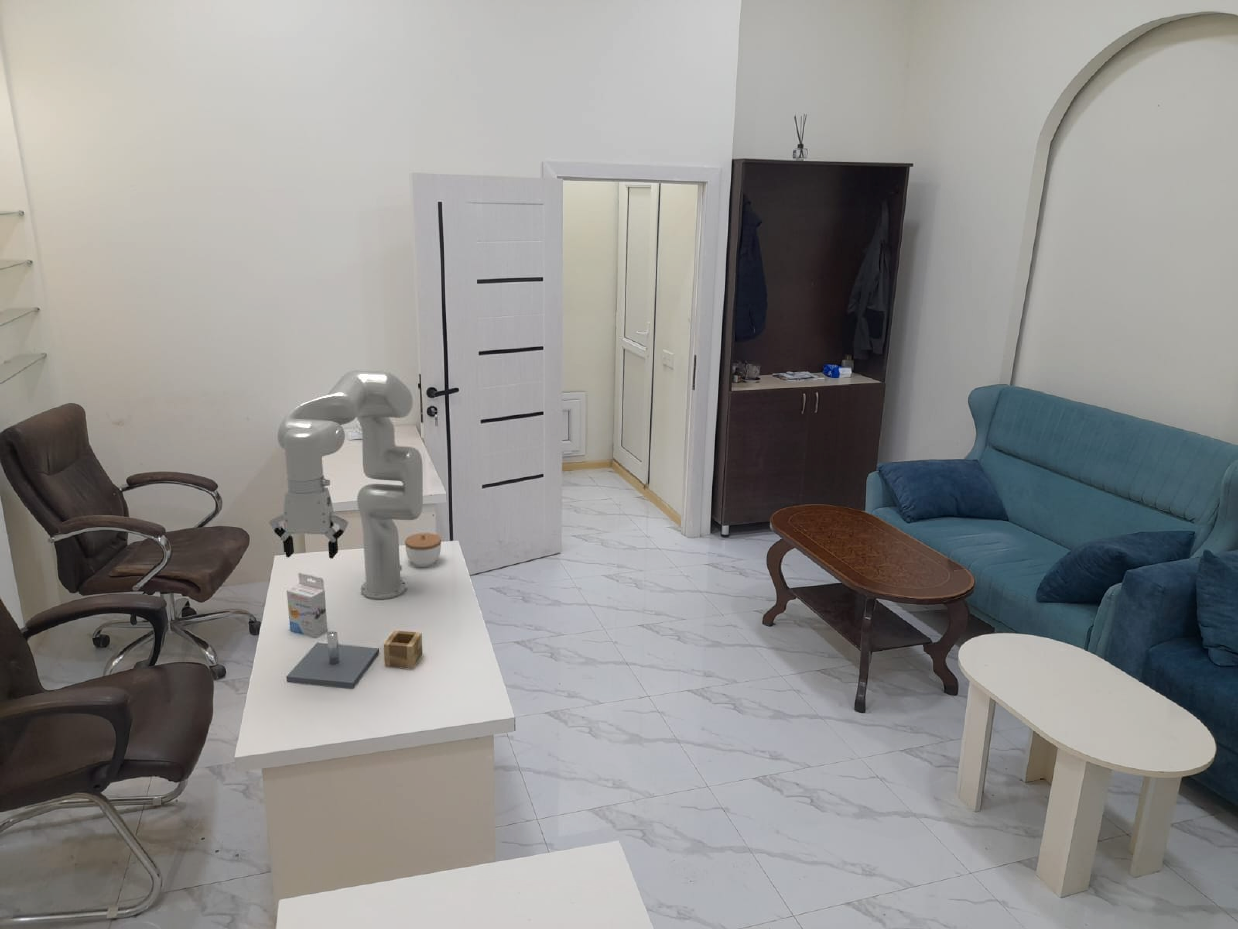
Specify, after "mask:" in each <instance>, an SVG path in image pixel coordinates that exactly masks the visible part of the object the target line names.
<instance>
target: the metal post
mask: <svg viewBox="0 0 1238 929" xmlns="http://www.w3.org/2000/svg"><path fill="white" fill-rule="evenodd" d="M338 638H339V635H338V632H337V631H329V632H327V633H326V641H327V642H326V643H327V644H328V657H329V664H332V665H334V664H337V663H339V648H338V645H339V639H338Z"/></svg>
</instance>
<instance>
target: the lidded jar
mask: <svg viewBox="0 0 1238 929" xmlns="http://www.w3.org/2000/svg"><path fill="white" fill-rule="evenodd" d="M404 543H405V544H404V545H405V551H406V556H407V558H408V560H409V561H410V562H411V563H412V564H413V565H414V566H415V567H419V568H428V567H432V566H433V565H434V564H435V562H436V561H437V560H438V559H439V558H440V554H441V552H442V551H441V550H442V538H441V536H439V535H438V534H435V533H431V532H430V533H428V532H422V533H421V532H420V533H416V534H415V533H414V534H412V535H409V536H408V537H406V538H405V539H404Z"/></svg>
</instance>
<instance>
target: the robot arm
mask: <svg viewBox="0 0 1238 929" xmlns="http://www.w3.org/2000/svg"><path fill="white" fill-rule="evenodd" d="M413 401H414V400H413V395H412V393H411V390H410V389H409V387H408V386H407V385H406V384H405V383H403V381H402V380H400V379H399V378H398V377H397V376H396V375H394V374H393V373H390V372H387V371H378V370H377V371H375V370H352V371H348V372H346V373H345V374H344V375H343V376H342V377H341V378H340V379H339V380H338V381H337V382H336V384H334V386H333V387H332V389H331V390H329V392H328V393H327V394H325V395H322V396H320V397H316V398H314V399H311V400H309V401H307V402H303V403H302V404H299V405H297V406H295V407H294V408H293V409H291V410H290V411H289V413H288V414H286V415H285V417H284V418H283V420H282V421H281V423H280V425H279V428H278V430H277V441H278V444H279V446H280V448H281V449H283V450H284V454H285V455H284V457H285V466H286V478H287V488H286V490H285V491H284V493H285V494H284V498H283V499H284V500H283V513H281V514H279V515H277V516H275V517H273V518H271V519H270V521H269V525H270V526H271V528H272V529H273V532H274V534H276V535H277V536H278V537H279V538H280V541H282V545H283V552H284V553H285V557H286V558H290V557H291V556H292V555H294V552H295V548H294V547H295V546H294V537H293V536H292V534H295V535H298V534H299V535H324V536H325V537H326V538H327V539H329V541H328V542H327V546H328V558H329V559H330V560H331V559H334V557H335V556H336V555H337V554H338V552H339V544H338V539H340V537H341V536H342V535H344V533H345V531H346V529H347V527H348V525H349V521H348V520H346V519H345V518H342V517H340V516H338V515H336V514H335V513H334V509H333V508H334V507H333V502H332V498H331V495H330V490H329V487H328V486H330V485H331V480H330V479H327V478H325V475H324V467H323V457H325V456H330V455H333V454H335V453H337V452H339V451H340V449H341V448H342V446H344V443H345V438H346V434H345V430H344V428H343V426H342V425H347V424H350V423H351V422H352V421H354V420H355V419H357V421H358V423H359V425H360V428H361V436H362V441H361V442H362V450H361V451H362V470H363V473H364V475H365V476H366V478H368V479H371V480H380V481H390V482H391V481H393V482H396V481H397V482H401V484H402V485H401V484H388V483H387V484H386V483H370V484H366V485H364V486H362V487H361V488H360V489H359V491H358V493H357V495H356V499H357V500H356V503H357V509H358V512H359V515H360V520H361V526H362V527H361V528H362V539H363V555H364V569H365V570H364V572H365V582H364V583H362V585H361V586H360V593H361V594H362V595H363V596H364V597H366V598H368V599H372V600H373V599H374V600H388V599H392V598H395V597H398V596H400V595H403V593H405V592H406V590H407V582H406V581H405V580H403V579H402V578H401V571H402V570H403V566H402V564H401V563H400V561H401V560H400V544H399V543H400V540H399V538H400V536H399V530H398V527H397V525H396V524H395V522H394V521H395V520H396V521H399V520H400V521H414V520H417V519H418V518H420V516H421V514H422V510H423V506H424V504H423V503H424V501H423V500H424V486H423V485H424V480H423V479H424V478H423V476H424V473H423V472H424V466H423V465H424V463H423V457H422V454H421V452H420V451H419V449H417V448H415V447H411V446H402V445H396V442H395V441H396V438H395V426H394V423H393V422H392V420H391V418H392V419H393V418H396V419H401V418H405V417H408V415H409V414H410V413H411V411H412V408H413ZM281 522H283V525H284V526H283V527H284V528H283V527H282V526H280V523H281ZM335 525H338V526H339V528H338V530H335V529H334V527H335Z"/></svg>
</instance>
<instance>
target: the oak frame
mask: <svg viewBox="0 0 1238 929" xmlns="http://www.w3.org/2000/svg"><path fill="white" fill-rule="evenodd" d="M422 635H423V634H422V632H417V631H407V630H406V631H405V630H393V631H392V632H391V634H390V635H389V636H388V637H387V639H386V640H385V641H384V643H383V659H384V660H383V661H384V667H388V668H398V669H409V670H414V668H415V667H416V665H417V664H418V662H419V661H420V659H421V658H422V656H423V655H424V654H423V636H422Z"/></svg>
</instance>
